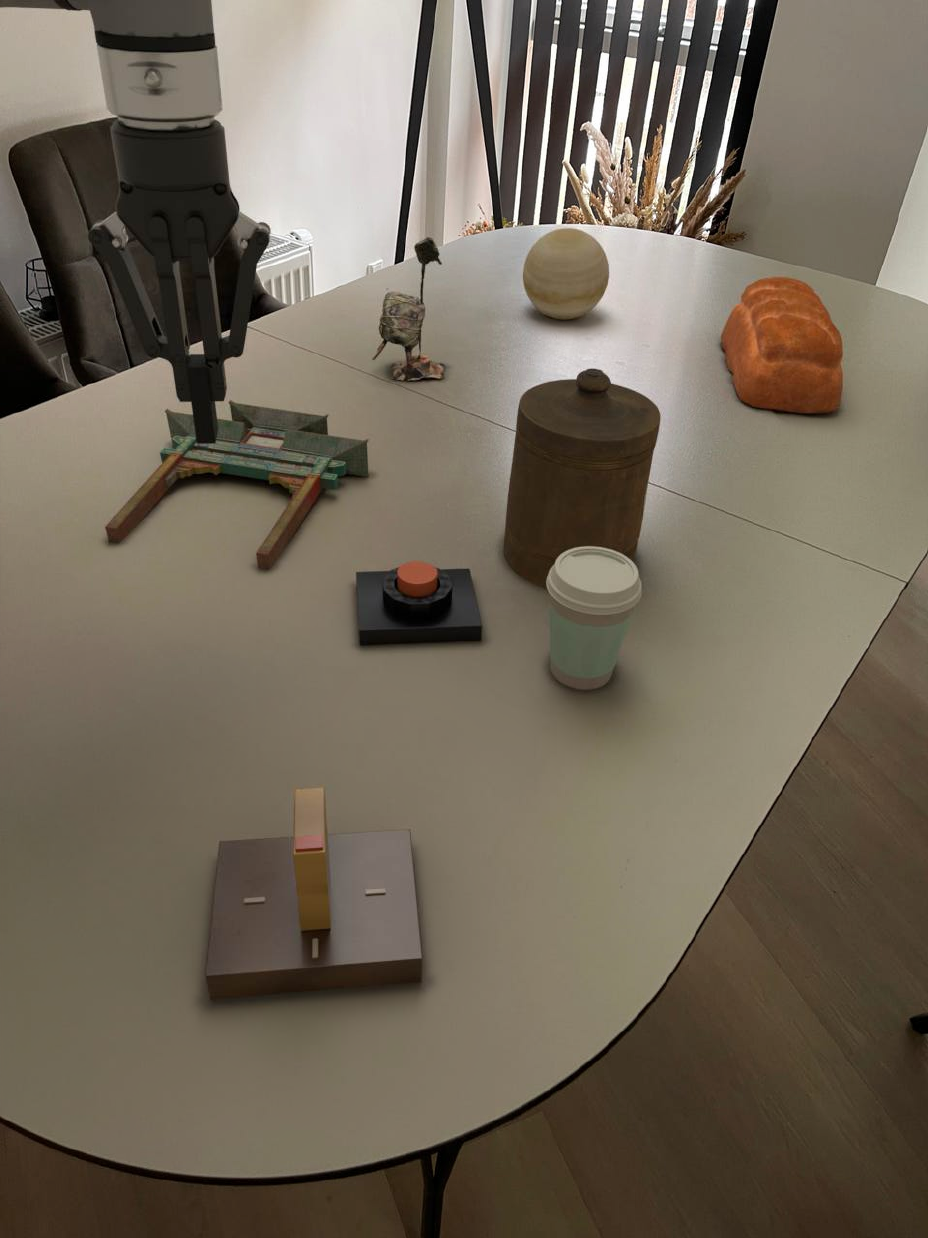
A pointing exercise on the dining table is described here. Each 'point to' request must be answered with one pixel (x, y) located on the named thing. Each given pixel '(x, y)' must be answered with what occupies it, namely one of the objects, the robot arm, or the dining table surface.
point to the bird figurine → (409, 323)
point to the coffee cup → (589, 613)
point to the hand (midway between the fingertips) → (207, 435)
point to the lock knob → (311, 858)
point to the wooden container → (578, 471)
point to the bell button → (417, 579)
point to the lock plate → (314, 959)
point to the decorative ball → (566, 273)
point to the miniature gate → (253, 464)
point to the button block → (417, 610)
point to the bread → (784, 348)
